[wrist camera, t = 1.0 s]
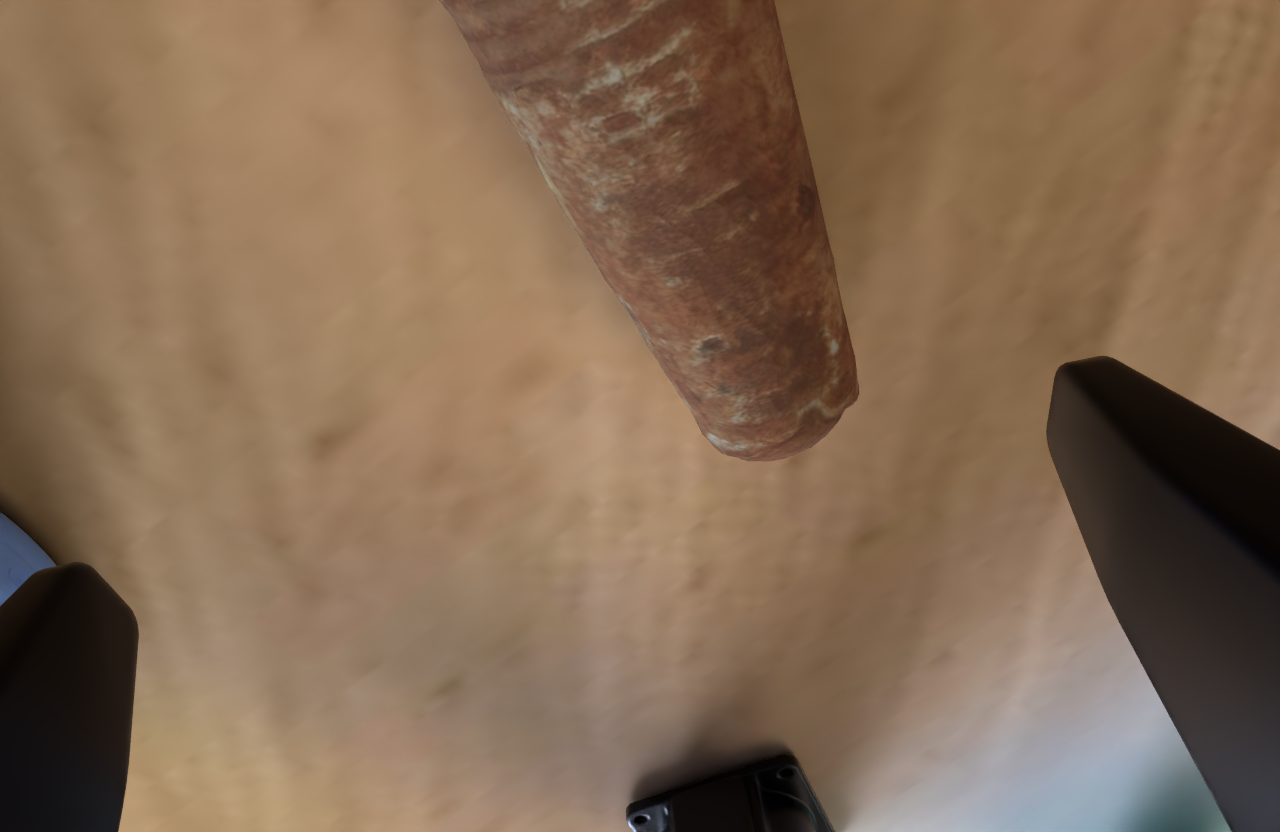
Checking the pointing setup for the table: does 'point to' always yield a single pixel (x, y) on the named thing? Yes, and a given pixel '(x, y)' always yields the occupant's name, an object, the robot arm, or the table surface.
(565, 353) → the table surface
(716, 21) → the brown cylinder
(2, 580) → the water jug
